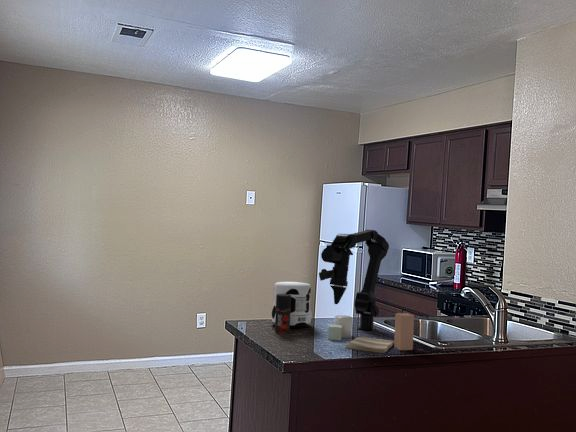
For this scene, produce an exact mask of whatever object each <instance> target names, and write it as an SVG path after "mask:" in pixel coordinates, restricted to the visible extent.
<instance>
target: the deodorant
mask: <svg viewBox="0 0 576 432" xmlns="http://www.w3.org/2000/svg"><path fill="white" fill-rule="evenodd" d="M290 308H291V295H289V294H277V295H276V318H275V324H274V333H276V334H284V335H285V334H290V332H291V331H290V328H291V327H290Z"/></svg>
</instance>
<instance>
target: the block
mask: <svg viewBox="0 0 576 432" xmlns="http://www.w3.org/2000/svg"><path fill="white" fill-rule="evenodd" d="M327 333H328V334H327V340H332V341H342V339H343V337H342V325H334V324H328V329H327Z"/></svg>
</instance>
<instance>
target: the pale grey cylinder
mask: <svg viewBox="0 0 576 432" xmlns="http://www.w3.org/2000/svg"><path fill="white" fill-rule="evenodd" d="M333 325H342V338H351V337H352V336H353V335H352V330H353V317H352V316H351V315H345V314H344V315H343V314H342V315H341V314H340V315H339V314H338V315H335V316H334V324H333Z"/></svg>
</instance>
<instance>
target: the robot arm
mask: <svg viewBox="0 0 576 432" xmlns="http://www.w3.org/2000/svg"><path fill="white" fill-rule="evenodd" d="M363 242H365V245H366V246H367V252H368V256H369V259H368V264H367V265H368V266H367V269H366V273H365V278H364V282H363V286H362V290H360V292H359V291H358V292H356V295H355V299H354V309H355V314H357V315H359V316H360V317H359V318H360V319H359V320H360V321H359V326H358V327H357V330H362V331H371V332H373V331H374V330H376V327H374V324H375V322H374V321H375V317H378V316H379V314H380V310H379V308H378V305H377V304H376V301H377V298H376V295H375V289H376V285H377V280H378V276H379V273H380V267H381V263H382V260H383V259H384V258H385V257H387V255H388V251H389V249H390V245H389V242H388V240H387V239H386V238H385V237H383V236H382V235H380V234H379V232H378V231H377V230H375V229H365V230H362V231H359V232H355V233H337V234H336V236H335V237H334V238H333V240H332V241H331V243H330V244H326V247H325V248H324V249H322V251H321V254H320V258H321V260H322V261H323V262H324V263H331V264H333V266H332V269H331V270H327V269H326V268H323V269H321V270H320V271H321V272H318V277H319V280H320V281H324V280H328V279H329V286H330V288H331V289H332V291H333V301H334V302H333V303H334V305H339V303H340V302H341V299H342V297H343V295H344V294H345V293H346V290H347V289H348V288H347V287H348V272H349V265H350V256H353V255H354V253H353V251H352V250H351V249H353V248H354V247H356V245H357V244H360V243H363Z"/></svg>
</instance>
